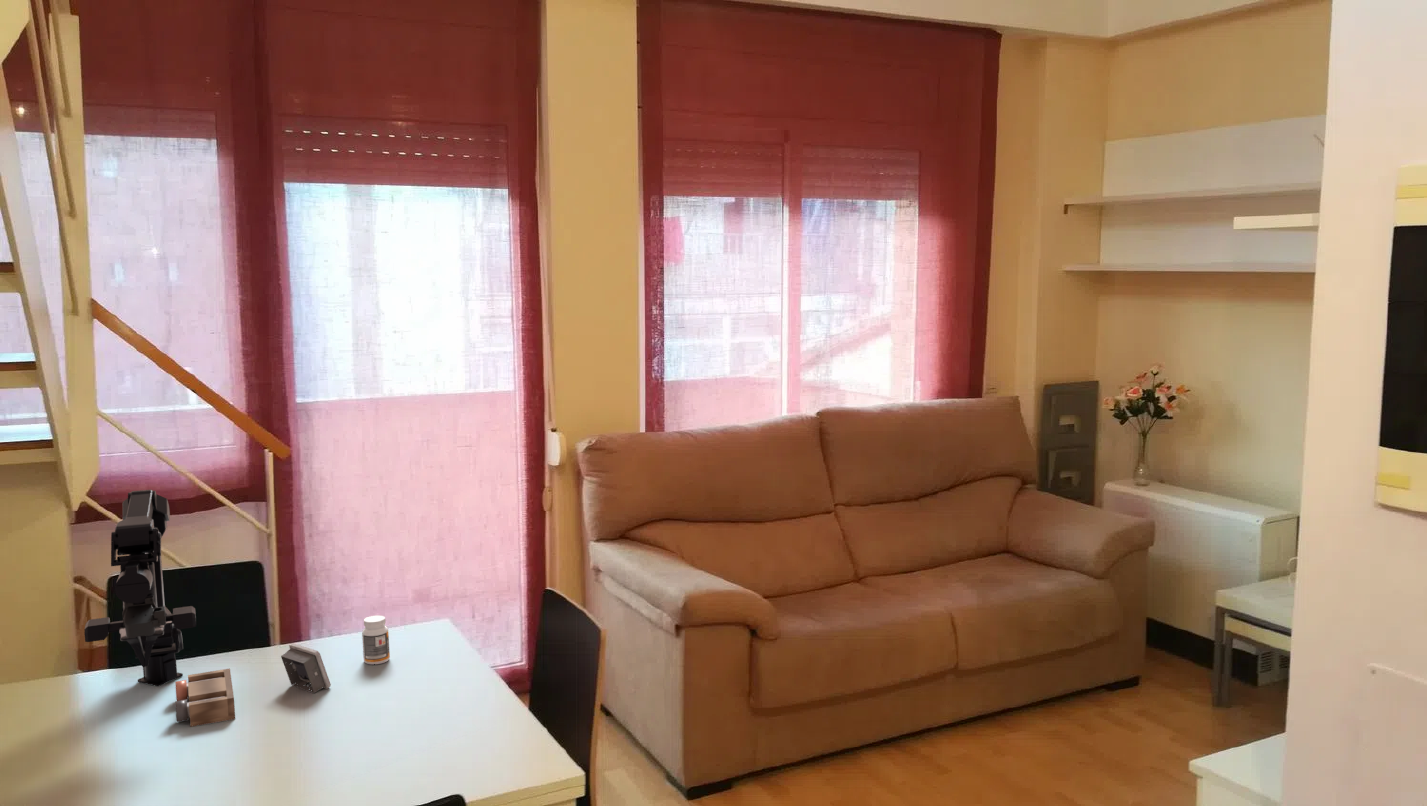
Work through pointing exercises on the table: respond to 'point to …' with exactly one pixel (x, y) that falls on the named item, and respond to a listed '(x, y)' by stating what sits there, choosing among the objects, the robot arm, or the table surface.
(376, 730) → the table surface
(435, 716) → the table surface
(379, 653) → the pill bottle
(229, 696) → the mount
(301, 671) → the electrical switch
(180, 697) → the red knob
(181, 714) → the white and gray knob
